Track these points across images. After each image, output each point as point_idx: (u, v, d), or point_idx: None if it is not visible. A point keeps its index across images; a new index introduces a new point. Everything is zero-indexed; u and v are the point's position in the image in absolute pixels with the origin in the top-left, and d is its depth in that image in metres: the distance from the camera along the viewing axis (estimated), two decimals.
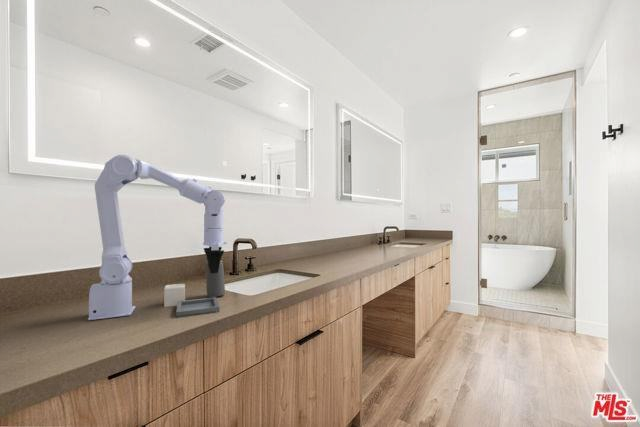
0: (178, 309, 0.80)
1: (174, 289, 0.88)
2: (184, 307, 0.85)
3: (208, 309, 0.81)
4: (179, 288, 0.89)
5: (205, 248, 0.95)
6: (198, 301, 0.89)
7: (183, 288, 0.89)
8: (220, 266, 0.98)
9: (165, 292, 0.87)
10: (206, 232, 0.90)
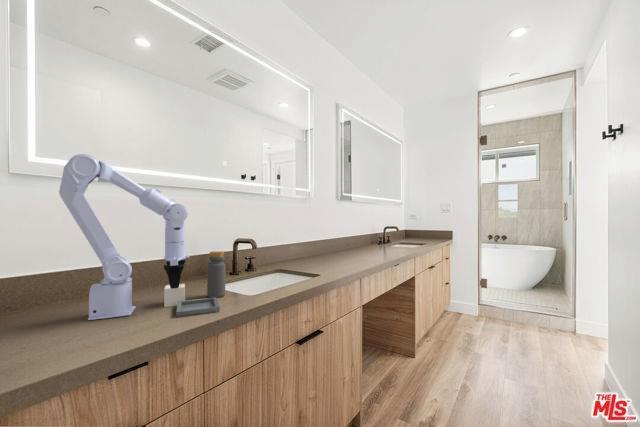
0: (178, 309, 0.80)
1: (174, 289, 0.88)
2: (184, 307, 0.85)
3: (208, 309, 0.81)
4: (179, 288, 0.89)
5: (168, 262, 0.94)
6: (198, 301, 0.89)
7: (183, 288, 0.89)
8: (222, 267, 0.98)
9: (165, 292, 0.87)
10: (166, 246, 0.88)
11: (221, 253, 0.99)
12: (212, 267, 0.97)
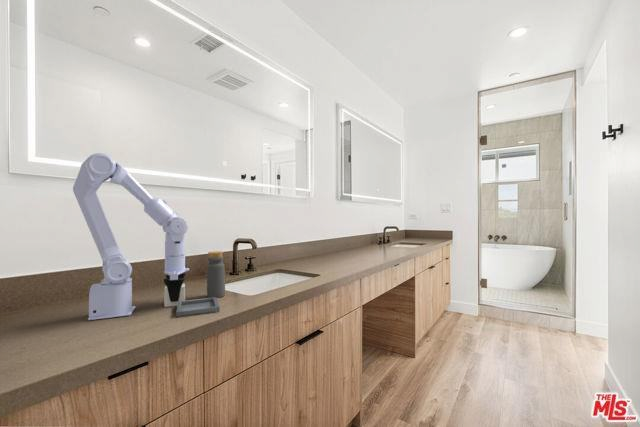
0: (178, 309, 0.80)
1: None
2: (184, 307, 0.85)
3: (208, 309, 0.81)
4: None
5: (167, 275, 0.93)
6: (198, 301, 0.89)
7: (183, 288, 0.89)
8: (221, 267, 0.98)
9: (165, 292, 0.87)
10: (166, 260, 0.88)
11: (220, 254, 0.98)
12: (211, 268, 0.96)
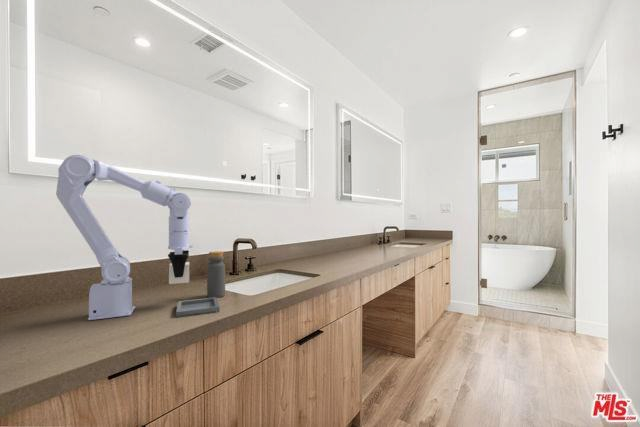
0: (178, 309, 0.80)
1: None
2: (184, 307, 0.85)
3: (208, 309, 0.81)
4: None
5: (171, 252, 0.92)
6: (198, 301, 0.89)
7: (188, 265, 0.88)
8: (222, 267, 0.98)
9: (170, 269, 0.86)
10: (170, 235, 0.87)
11: (220, 253, 0.99)
12: (212, 268, 0.97)
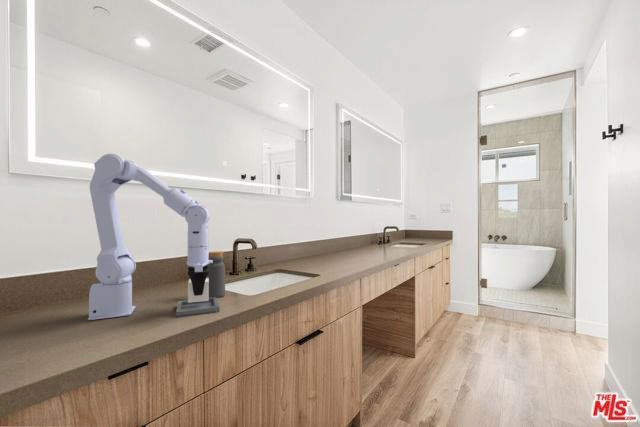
0: (178, 309, 0.80)
1: None
2: (184, 307, 0.85)
3: (208, 309, 0.81)
4: None
5: (190, 267, 0.87)
6: None
7: (207, 283, 0.83)
8: (222, 267, 0.98)
9: (189, 287, 0.81)
10: (190, 251, 0.83)
11: (220, 253, 0.99)
12: (212, 268, 0.97)
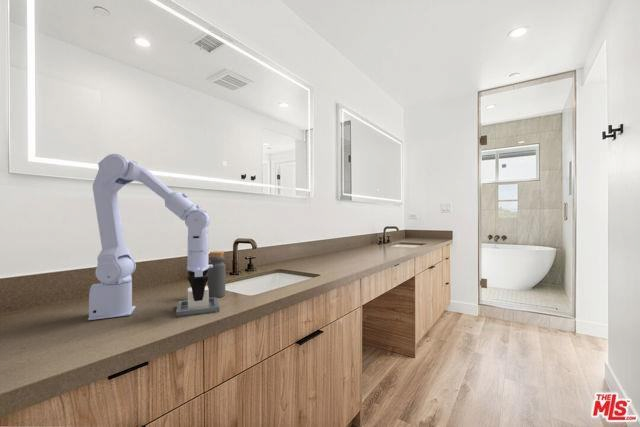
0: (178, 309, 0.80)
1: None
2: (184, 307, 0.85)
3: (208, 309, 0.81)
4: None
5: (189, 272, 0.88)
6: None
7: (207, 291, 0.83)
8: (223, 267, 0.98)
9: (188, 295, 0.81)
10: (190, 256, 0.83)
11: (221, 253, 0.99)
12: (213, 268, 0.97)
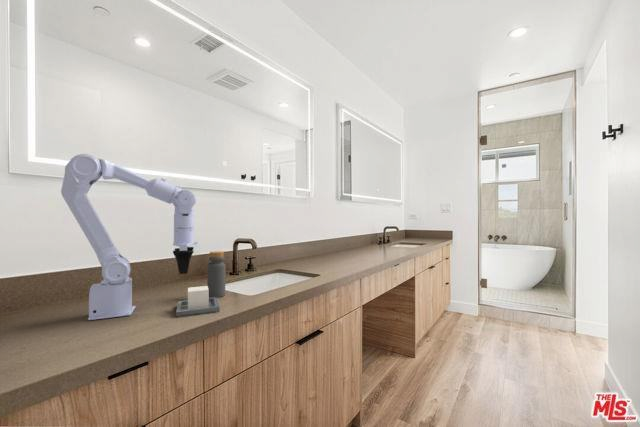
0: (178, 309, 0.80)
1: (198, 292, 0.82)
2: (184, 307, 0.85)
3: (208, 309, 0.81)
4: (203, 291, 0.83)
5: (176, 248, 0.94)
6: None
7: (207, 291, 0.83)
8: (223, 267, 0.98)
9: (188, 295, 0.81)
10: (175, 232, 0.88)
11: (221, 253, 0.99)
12: (213, 268, 0.97)
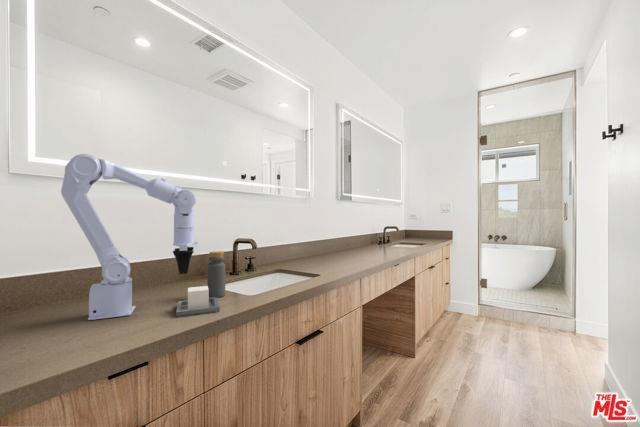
0: (178, 309, 0.80)
1: (198, 292, 0.82)
2: (184, 307, 0.85)
3: (208, 309, 0.81)
4: (203, 291, 0.83)
5: (176, 248, 0.94)
6: None
7: (207, 291, 0.83)
8: (223, 267, 0.98)
9: (188, 295, 0.81)
10: (175, 232, 0.88)
11: (221, 253, 0.99)
12: (213, 268, 0.97)
